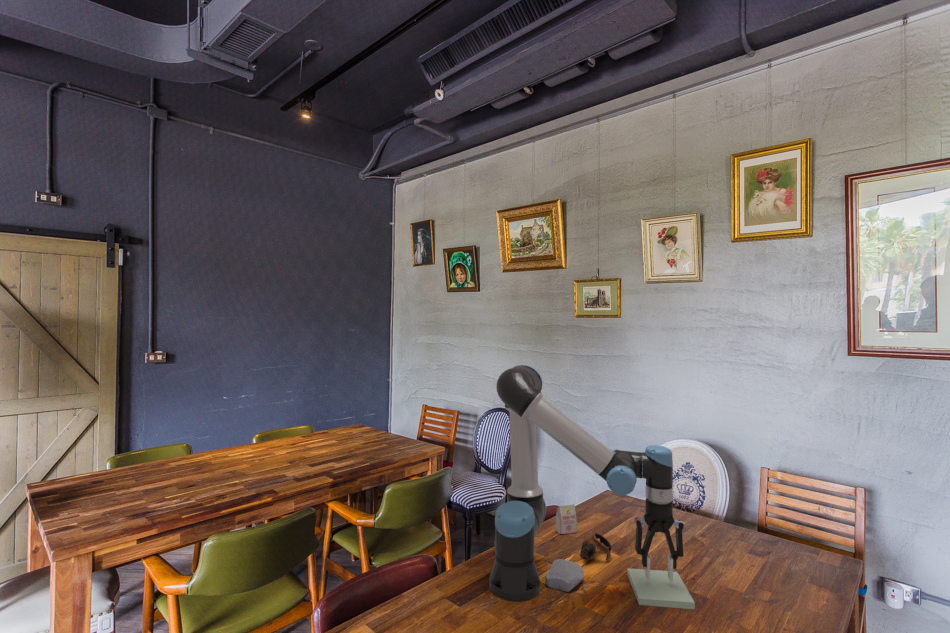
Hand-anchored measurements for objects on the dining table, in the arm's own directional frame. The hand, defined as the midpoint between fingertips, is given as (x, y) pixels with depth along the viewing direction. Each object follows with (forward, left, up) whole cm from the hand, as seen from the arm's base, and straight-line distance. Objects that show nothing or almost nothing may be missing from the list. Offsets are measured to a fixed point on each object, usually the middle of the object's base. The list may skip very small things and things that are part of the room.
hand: (658, 578), depth 138 cm
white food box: (-24, +36, -4) cm, 44 cm away
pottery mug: (-19, +17, -5) cm, 26 cm away
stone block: (-22, 0, -3) cm, 23 cm away
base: (0, 0, -4) cm, 4 cm away
